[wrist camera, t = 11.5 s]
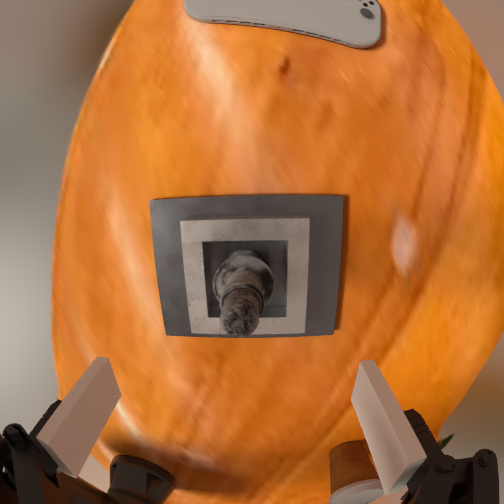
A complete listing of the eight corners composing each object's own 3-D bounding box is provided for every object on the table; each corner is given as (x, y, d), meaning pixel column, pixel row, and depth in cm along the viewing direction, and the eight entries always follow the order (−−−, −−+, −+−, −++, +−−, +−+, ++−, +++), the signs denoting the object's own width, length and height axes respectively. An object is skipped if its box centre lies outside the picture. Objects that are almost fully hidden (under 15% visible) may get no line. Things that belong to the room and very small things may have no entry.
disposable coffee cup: (311, 460, 40) (318, 511, 28) (341, 433, 37) (355, 488, 26) (349, 464, 41) (361, 509, 29) (380, 437, 38) (398, 485, 27)
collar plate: (168, 331, 33) (160, 346, 29) (152, 199, 29) (140, 202, 25) (331, 330, 32) (338, 345, 29) (340, 195, 28) (351, 197, 25)
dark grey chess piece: (207, 277, 30) (177, 336, 18) (240, 234, 28) (227, 273, 17) (250, 308, 30) (246, 379, 19) (285, 268, 29) (301, 326, 18)
